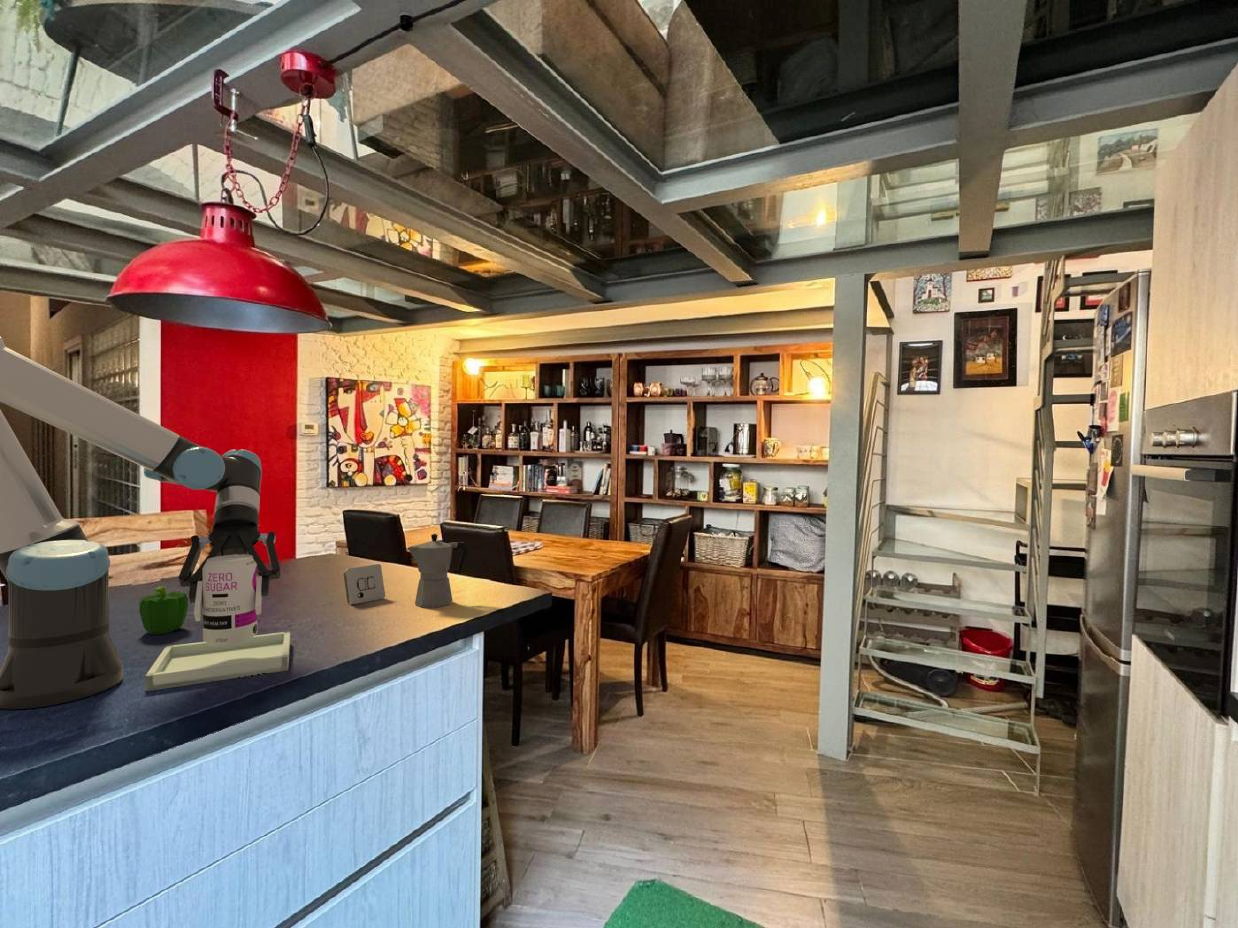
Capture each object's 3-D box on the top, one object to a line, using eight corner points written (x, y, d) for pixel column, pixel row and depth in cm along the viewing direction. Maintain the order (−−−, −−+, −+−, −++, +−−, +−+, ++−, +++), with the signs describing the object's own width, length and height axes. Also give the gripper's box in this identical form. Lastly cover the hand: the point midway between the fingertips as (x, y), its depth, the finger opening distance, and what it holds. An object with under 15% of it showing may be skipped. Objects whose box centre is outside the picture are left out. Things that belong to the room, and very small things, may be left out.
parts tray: (145, 691, 93) (145, 676, 93) (166, 659, 107) (166, 646, 107) (288, 670, 102) (288, 656, 102) (290, 643, 116) (290, 631, 116)
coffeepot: (407, 610, 142) (407, 537, 141) (406, 601, 150) (406, 532, 150) (471, 604, 147) (471, 534, 147) (466, 596, 156) (467, 530, 156)
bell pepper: (161, 624, 128) (161, 580, 127) (197, 626, 127) (196, 581, 127) (127, 637, 119) (126, 589, 119) (164, 638, 119) (164, 590, 118)
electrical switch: (351, 606, 145) (349, 569, 145) (341, 604, 148) (339, 568, 149) (386, 599, 152) (384, 563, 153) (376, 597, 156) (374, 563, 156)
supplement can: (253, 629, 111) (253, 552, 110) (260, 641, 104) (259, 558, 104) (201, 638, 106) (200, 557, 105) (205, 650, 99) (204, 564, 99)
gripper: (297, 523, 123) (296, 616, 109) (174, 528, 113) (156, 632, 99) (296, 500, 118) (296, 595, 105) (168, 504, 108) (149, 610, 94)
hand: (228, 613), depth 102 cm, fingers closed on supplement can, 8 cm apart
